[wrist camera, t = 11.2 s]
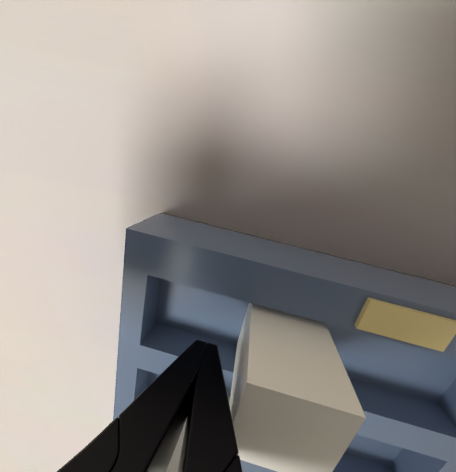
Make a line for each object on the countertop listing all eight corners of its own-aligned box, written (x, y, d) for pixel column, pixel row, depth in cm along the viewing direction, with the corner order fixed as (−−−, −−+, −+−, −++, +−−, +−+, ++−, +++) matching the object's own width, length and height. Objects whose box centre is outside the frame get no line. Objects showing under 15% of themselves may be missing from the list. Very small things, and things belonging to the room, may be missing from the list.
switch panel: (380, 456, 14) (414, 537, 11) (140, 382, 15) (109, 438, 12) (494, 296, 10) (598, 352, 7) (160, 212, 11) (122, 229, 8)
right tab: (297, 359, 10) (323, 486, 6) (237, 342, 11) (222, 454, 6) (319, 308, 9) (365, 417, 5) (252, 290, 10) (246, 382, 6)
